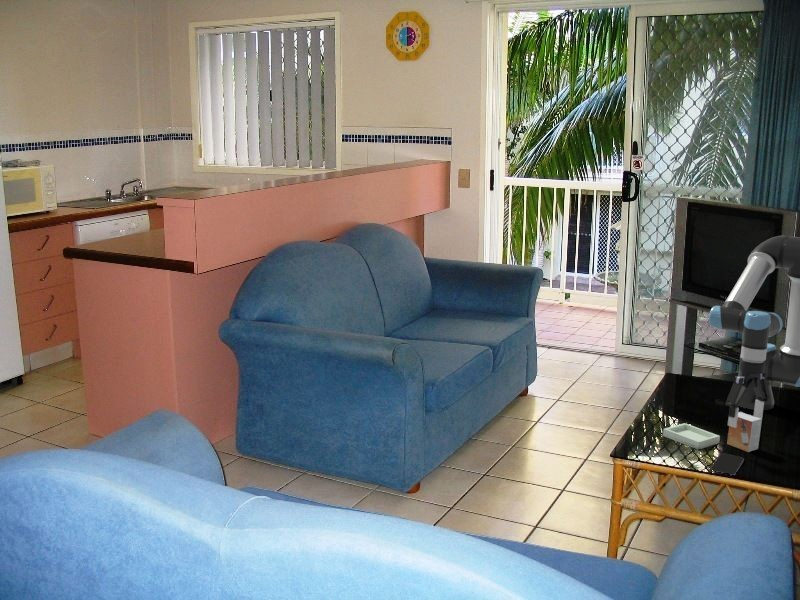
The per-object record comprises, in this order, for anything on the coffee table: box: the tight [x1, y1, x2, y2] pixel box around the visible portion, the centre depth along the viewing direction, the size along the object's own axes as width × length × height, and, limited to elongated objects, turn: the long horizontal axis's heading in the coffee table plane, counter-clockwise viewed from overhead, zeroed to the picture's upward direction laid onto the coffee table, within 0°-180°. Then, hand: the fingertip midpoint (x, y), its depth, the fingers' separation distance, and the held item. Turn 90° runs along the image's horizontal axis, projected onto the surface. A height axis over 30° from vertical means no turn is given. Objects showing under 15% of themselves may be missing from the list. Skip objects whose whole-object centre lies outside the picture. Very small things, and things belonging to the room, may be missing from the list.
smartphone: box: [709, 452, 745, 476], centre depth 267 cm, size 7×1×15 cm
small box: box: [726, 411, 763, 453], centre depth 282 cm, size 8×6×10 cm
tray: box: [662, 422, 721, 450], centre depth 288 cm, size 11×14×2 cm
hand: (744, 423), depth 281 cm, fingers open, 13 cm apart
